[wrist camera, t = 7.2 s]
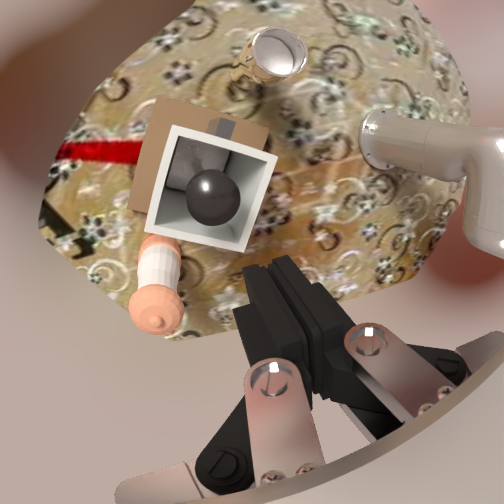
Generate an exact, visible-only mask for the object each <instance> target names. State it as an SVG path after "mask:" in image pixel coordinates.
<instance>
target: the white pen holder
mask: <svg viewBox="0 0 504 504" xmlns="http://www.w3.org/2000/svg"><path fill="white" fill-rule="evenodd" d="M269 131H270V129H269V128H266V127H264V126H261V125H258V124H255V123H252V122H250V121H247V120H244V119H241V118H238V117H235V116H232V115H228V114H225V113H222V112H219V111H216V110H212V109H209V108H205V107H202V106H198V105H195V104H191V103H187V102H183V101H179V100H175V99H171V98H167V97H163V96H158V97H157V100H156V102H155V105H154V108H153V111H152V114H151V117H150V121H149V124H148V127H147V130H146V134H145V137H144V141H143V144H142V148H141V151H140V155H139V159H138V163H137V166H136V170H135V175H134V179H133V183H132V187H131V192H130V197H129V201H128V206H127V209H130V210H135V211H139V212H144V213H148V216H147V220H146V225H145V230H144V232H149V233H154V234H158V235H163V236H167V237H172V238H177V239H181V240H186V241H191V242H195V243H200V244H205V245H209V246H214V247H219V248H224V249H228V250H233V251H238V252H242V253H244V251H245V248H246V245H247V242H248V240H249V237H250V234H251V231H252V228H253V225H254V223H255V220H256V217H257V214H258V211H259V209H260V206H261V203H262V200H263V197H264V195H265V192H266V189H267V186H268V183H269V181H270V178H271V175H272V172H273V170H274V167H275V164H276V161H277V158H278V156H275V155H272V154H269V153H267V152H264V151H263V148H264V145H265V142H266V139H267V137H268V134H269ZM180 136H181V137H185V138H189V139H193V140H197V141H200V142H204V143H208V144H211V145H215V146H218V147H221V148H225V149H228V150H230V152H229V155H228V158H227V161H226V164H225V167H224V170H223V172H224V173H225V174H227V175H228V176H229V177H230V178H231V179H232V180H233V181H234V182H235V183H236V185H237V186H238V188H239V191H240V196H241V202H240V206H239V209H238V211H237V213H236V214H235V216H234V217H233V218H232V219H231V220H229V221H228V222H226V223H224V224H222V225H218V226H206V225H203V224H201V223H199V222H197V221H196V220H195V219H194V218H193V217H192V216H191V215H190V213H189V211H188V208H187V202H186V191H184V190H180V189H175V188H171V187H167V186H166V183H167V179H168V176H169V172H170V169H171V165H172V162H173V158H174V155H175V152H176V148H177V145H178V142H179V139H180Z"/></svg>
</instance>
